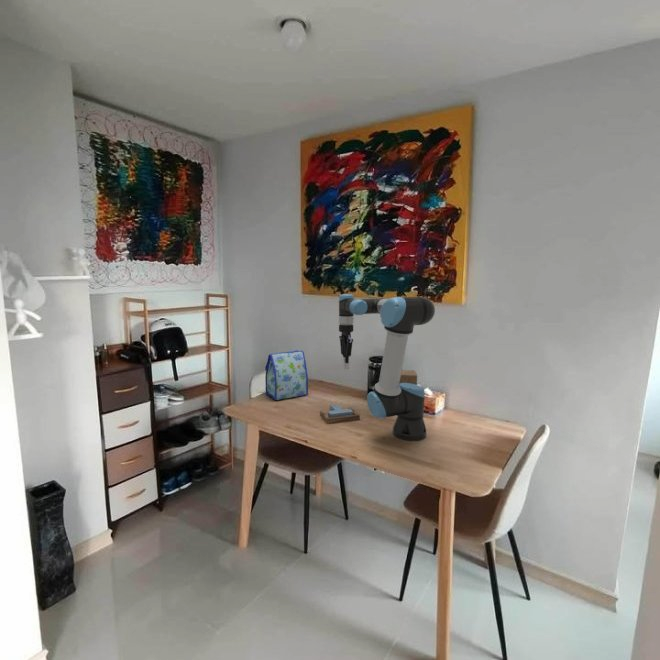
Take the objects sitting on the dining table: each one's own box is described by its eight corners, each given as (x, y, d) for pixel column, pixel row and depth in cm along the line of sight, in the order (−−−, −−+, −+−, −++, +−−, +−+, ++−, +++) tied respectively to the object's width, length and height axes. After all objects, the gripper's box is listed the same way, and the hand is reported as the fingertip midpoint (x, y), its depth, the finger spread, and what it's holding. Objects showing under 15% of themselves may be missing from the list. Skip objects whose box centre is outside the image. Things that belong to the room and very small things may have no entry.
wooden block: (413, 405, 215) (415, 370, 212) (415, 411, 205) (417, 375, 202) (395, 404, 216) (396, 369, 213) (396, 410, 206) (398, 374, 203)
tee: (352, 418, 195) (353, 411, 195) (330, 420, 191) (330, 414, 191) (344, 409, 206) (344, 403, 206) (323, 412, 203) (323, 405, 202)
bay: (359, 420, 193) (359, 415, 192) (327, 424, 187) (327, 419, 187) (350, 411, 204) (351, 407, 203) (320, 415, 198) (320, 410, 198)
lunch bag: (295, 388, 241) (295, 347, 237) (309, 395, 228) (310, 352, 224) (263, 394, 229) (262, 351, 225) (275, 402, 216) (275, 357, 211)
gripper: (358, 325, 196) (357, 370, 199) (347, 322, 208) (347, 365, 211) (344, 325, 193) (344, 372, 196) (334, 323, 205) (334, 366, 208)
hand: (345, 368), depth 203 cm, fingers closed
